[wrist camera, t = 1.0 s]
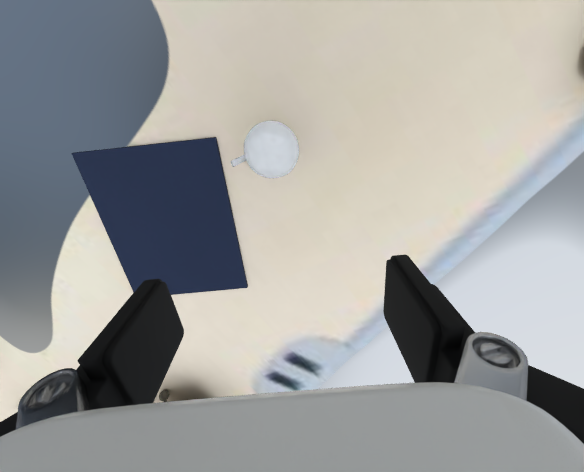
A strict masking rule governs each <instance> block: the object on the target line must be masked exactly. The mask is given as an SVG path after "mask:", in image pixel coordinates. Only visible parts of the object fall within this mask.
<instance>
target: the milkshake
mask: <svg viewBox="0 0 584 472" xmlns="http://www.w3.org/2000/svg"><path fill="white" fill-rule="evenodd" d="M244 154H245V155H243V156H240V157H238V158H236V159H234V160H232V161H231V164H232V166H233V167H234V166H236V165H238V164H240V163H242V162H244V161H246V160H247V163H248V164H249V166H250V167H251V169H252V170H253V171H254V172H256V173H257V174H259V175H261V176H263V177H267V178H278V177H282V176H284V175H286V174H288V173H289V172H290V171H291V170H292V169H293V168H294V166H295V164H296V162H297V160H298V156H299V145H298V141H297V138H296V136H295V134H294V133H293V132H292V130H291V129H290V128H289V127H287V126H286V125H285V124H283V123H281V122H278V121H265V122H261V123H259V124H257V125H255V126H254V127H253V128H252V129H251V130H250V132H249V133H248V135H247V137H246V139H245V142H244Z"/></svg>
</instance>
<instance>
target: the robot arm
mask: <svg viewBox="0 0 584 472" xmlns="http://www.w3.org/2000/svg"><path fill="white" fill-rule="evenodd" d="M384 316H385V319H386V321H387V324H388V326H389V328H390V330H391V332H392V334H393V336H394V339H395V340H396V343H397V345H398V347H399V349H400V351H401V354H402V356H403V357H404V360H405V362H406V364H407V366H408V369H409V371H410V373H411V375H412V377H413V379H414V382H415V383H401V384H384V385H367V386H354V387H342V388H330V389H315V390H302V391H290V392H278V393H265V394H253V395H241V396H229V397H217V398H206V399H194V400H183V401H172V402H161V403H153V402H154V399H155V397H156V395H157V393H158V391H159V389H160V386H161V384H162V382H163V380H164V378H165V375H166V373H167V371H168V369H169V367H170V364H171V362H172V360H173V358H174V356H175V353H176V351H177V349H178V347H179V345H180V342H181V340H182V338H183V334H184V329H183V326H182V324H181V321H180V318H179V316H178V313H177V310H176V308H175V305H174V302H173V300H172V297H171V295H170V292H169V289H168V287H167V284H166V283H165V282H162V280H161V279H150V280H144V281H143V282H142V284H141V285H140V286H139V287H138V288H137V290H136V291H135V292H134V293H133V294H132V296H131V297H130V298H129V299H128V300H127V302H126V303H125V304H124V305H123V306H122V308H121V309H120V310H119V311H118V312H117V314H116V315H115V316H114V317H113V319H112V320H111V321H110V322H109V323H108V325H107V326H106V327H105V328H104V329H103V331H102V332H101V333H100V334H99V335H98V337H97V338H96V339H95V340H94V341H93V343H92V344H91V345H90V346H89V347H88V349H87V350H86V351H85V352H84V353H83V355H82V356H81V357H80V358H79V359H78V362H79V364H80V366H79V367H78V368H77V370H75V369H72V368H66V369H62V370H58V371H56V372H53V373H51V374H49V375H47V376H46V377H44V378H42V379H41V380H39V381H38V382H37V383H35V384H34V385H33V386H32V387H31V388H30V389H29V390H28V391H27V392H26V393H25V394H24V396H23V397H22V398H21V400H20V403H19V406H18V412H17V413H15V414H14V415H12V416H10V417H9V418H7V419H5V420H3V421H2V422H0V472H584V389H583V388H580V387H578V386H576V385H574V384H571V383H569V382H567V381H564V380H562V379H560V378H557V377H555V376H552V375H550V374H548V373H546V372H543V371H541V370H539V369H536V368H534V367H532V366H529V365H528V360H527V357H526V355H525V354H524V352H523V351H522V350H521V349H520V348H519V347H518V346H517V345H516V344H515V343H513V342H511V341H510V340H508V339H506V338H504V337H502V336H499V335H496V334H492V333H487V332H478V333H475V332H474V331H473V330H472V328H471V327H470V326H469V325H468V324H467V322H466V321H465V320H464V319H463V318H462V316H461V315H460V314H459V313H458V312H457V310H456V309H455V308H454V307H453V306H452V304H451V303H450V302H449V301H448V300H447V298H446V297H445V296H444V295H443V294H442V293H441V291H440V290H439V289H438V288H437V287H436V286H435V285H433V284H430V282H429V281H428V280H427V279H426V277H425V276H424V275H423V274H422V273H421V271H420V270H419V269H418V268H417V266H416V265H415V264H414V263H413V261H412V260H411V259H410V258H409V257H408V256H407V255H397V256H392V257H391V260H387V263H386V279H385V296H384Z"/></svg>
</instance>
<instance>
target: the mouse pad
mask: <svg viewBox="0 0 584 472" xmlns="http://www.w3.org/2000/svg"><path fill="white" fill-rule="evenodd" d="M72 155H73V158H74V160H75V162H76V164H77V166H78V169H79V171H80V173H81V175H82V177H83V180H84V182H85V184H86V186H87V189H88V191H89V193H90V196H91V198H92V200H93V202H94V205H95V207H96V209H97V211H98V213H99V216H100V218H101V220H102V222H103V225H104V227H105V229H106V231H107V234H108V236H109V238H110V240H111V243H112V245H113V247H114V249H115V252H116V254H117V256H118V258H119V260H120V263H121V265H122V267H123V269H124V272H125V274H126V276H127V278H128V281H129V283H130V285H131V287H132V290H133V292H135V291H136V290H137V288H138V287H139V286H140V285H141V284H142V282H143V281H144V280H150V279H161V280H162V282H165V283H166V284H167V287H168V289H169V292H170V295H173V294H184V293H195V292H206V291H216V290H227V289H238V288H247V281H246V276H245V271H244V267H243V262H242V257H241V253H240V248H239V243H238V238H237V234H236V229H235V224H234V220H233V215H232V210H231V205H230V201H229V196H228V191H227V186H226V182H225V177H224V172H223V168H222V163H221V158H220V153H219V149H218V144H217V139H216V137H214V138H205V139H196V140H186V141H177V142H168V143H159V144H150V145H140V146H131V147H122V148H114V149H104V150H94V151H86V152H77V153H72Z"/></svg>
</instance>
